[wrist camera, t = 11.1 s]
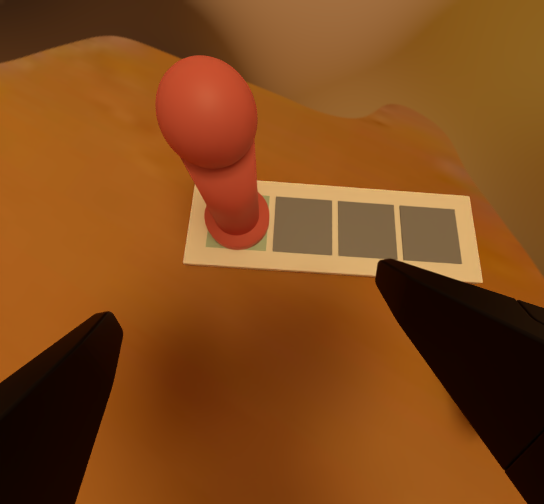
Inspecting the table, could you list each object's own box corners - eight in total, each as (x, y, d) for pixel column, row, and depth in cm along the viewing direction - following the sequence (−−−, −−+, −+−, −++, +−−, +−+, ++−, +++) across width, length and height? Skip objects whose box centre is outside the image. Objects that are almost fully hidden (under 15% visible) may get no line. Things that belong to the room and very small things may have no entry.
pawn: (263, 254, 21) (261, 150, 8) (201, 244, 21) (90, 124, 8) (273, 197, 23) (285, 24, 9) (215, 188, 23) (140, 3, 9)
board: (462, 199, 25) (470, 195, 24) (475, 283, 23) (483, 282, 22) (198, 180, 24) (195, 175, 23) (185, 264, 22) (182, 262, 21)
